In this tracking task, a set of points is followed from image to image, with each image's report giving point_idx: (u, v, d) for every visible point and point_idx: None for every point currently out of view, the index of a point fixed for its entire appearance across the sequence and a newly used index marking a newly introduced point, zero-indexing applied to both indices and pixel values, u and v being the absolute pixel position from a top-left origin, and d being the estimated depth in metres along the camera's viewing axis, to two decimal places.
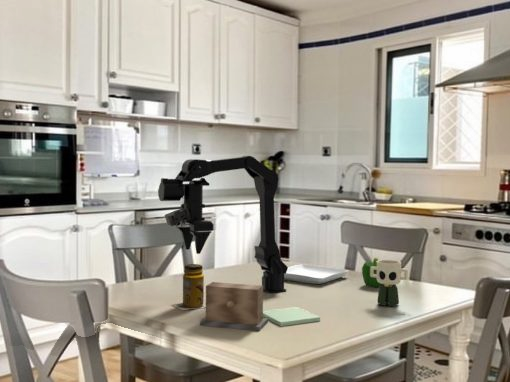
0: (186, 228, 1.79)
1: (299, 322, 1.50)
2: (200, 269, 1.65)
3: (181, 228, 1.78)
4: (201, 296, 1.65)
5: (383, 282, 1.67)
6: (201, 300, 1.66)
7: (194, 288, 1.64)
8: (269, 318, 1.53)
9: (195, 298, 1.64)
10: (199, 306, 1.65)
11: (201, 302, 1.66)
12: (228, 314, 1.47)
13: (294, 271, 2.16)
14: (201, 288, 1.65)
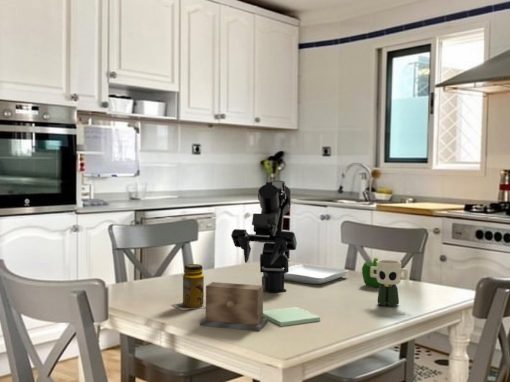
0: (248, 243, 1.68)
1: (299, 322, 1.50)
2: (200, 269, 1.65)
3: (247, 239, 1.67)
4: (201, 296, 1.65)
5: (383, 282, 1.67)
6: (201, 300, 1.66)
7: (194, 288, 1.64)
8: (269, 318, 1.53)
9: (195, 298, 1.64)
10: (199, 306, 1.65)
11: (201, 302, 1.66)
12: (228, 314, 1.47)
13: (294, 271, 2.16)
14: (201, 288, 1.65)
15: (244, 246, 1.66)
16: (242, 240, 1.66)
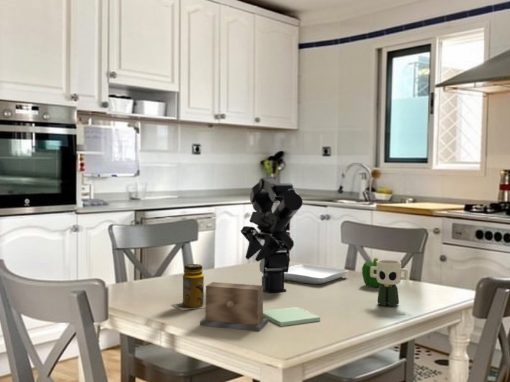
0: (257, 240, 1.73)
1: (299, 322, 1.50)
2: (200, 269, 1.65)
3: (254, 237, 1.72)
4: (201, 296, 1.65)
5: (383, 282, 1.67)
6: (201, 300, 1.66)
7: (194, 288, 1.64)
8: (269, 318, 1.53)
9: (195, 298, 1.64)
10: (199, 306, 1.65)
11: (201, 302, 1.66)
12: (228, 314, 1.47)
13: (294, 271, 2.16)
14: (201, 288, 1.65)
15: (250, 243, 1.72)
16: (249, 237, 1.72)
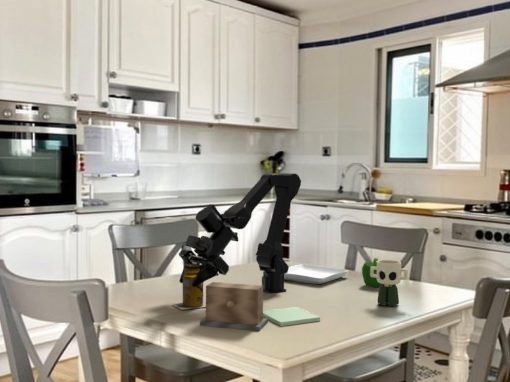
0: None
1: (299, 322, 1.50)
2: (200, 268, 1.65)
3: (189, 260, 1.70)
4: (201, 295, 1.65)
5: (383, 282, 1.67)
6: (201, 299, 1.66)
7: (194, 288, 1.64)
8: (269, 318, 1.53)
9: (195, 298, 1.64)
10: (199, 305, 1.65)
11: (201, 301, 1.66)
12: (228, 314, 1.47)
13: (294, 271, 2.16)
14: (201, 287, 1.65)
15: None
16: (184, 261, 1.71)
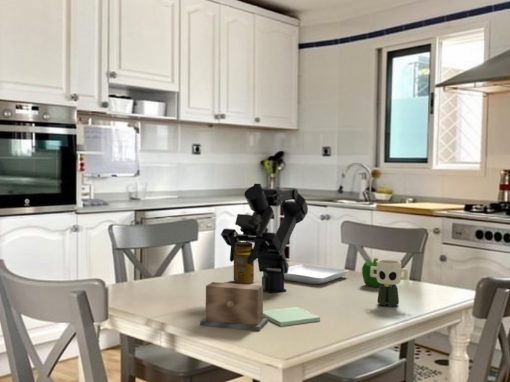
0: None
1: (299, 322, 1.50)
2: (251, 246, 1.69)
3: (235, 239, 1.73)
4: (253, 272, 1.70)
5: (383, 282, 1.67)
6: (253, 276, 1.70)
7: (248, 265, 1.68)
8: (269, 318, 1.53)
9: (249, 275, 1.68)
10: (252, 282, 1.69)
11: (253, 278, 1.70)
12: (228, 314, 1.47)
13: (294, 271, 2.16)
14: (253, 264, 1.69)
15: (232, 245, 1.72)
16: (230, 239, 1.73)
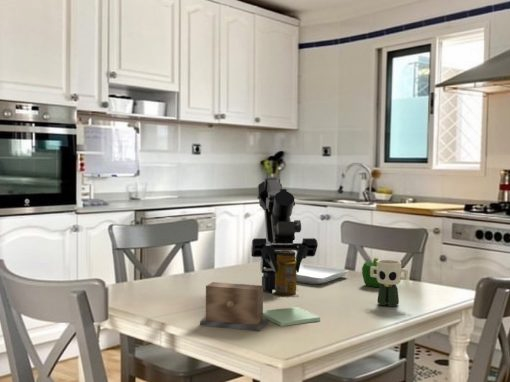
0: None
1: (299, 322, 1.50)
2: None
3: None
4: None
5: (383, 282, 1.67)
6: None
7: (295, 274, 1.61)
8: (269, 318, 1.53)
9: None
10: None
11: None
12: (228, 314, 1.47)
13: None
14: None
15: (271, 255, 1.61)
16: (268, 249, 1.61)
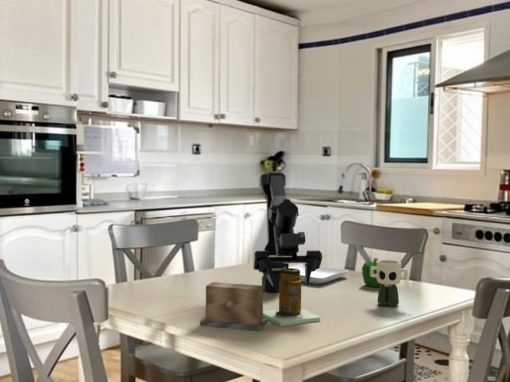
0: None
1: (299, 322, 1.50)
2: None
3: None
4: None
5: (383, 282, 1.67)
6: None
7: (300, 293, 1.55)
8: (269, 318, 1.53)
9: (300, 303, 1.55)
10: (300, 311, 1.57)
11: None
12: (228, 314, 1.47)
13: None
14: None
15: (268, 269, 1.55)
16: (265, 262, 1.55)
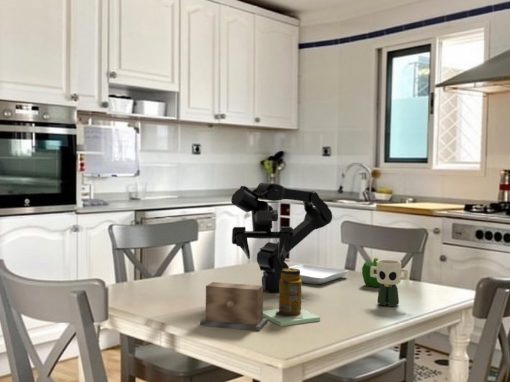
0: None
1: (299, 322, 1.50)
2: None
3: (246, 236, 1.74)
4: None
5: (383, 282, 1.67)
6: None
7: (300, 293, 1.55)
8: (269, 318, 1.53)
9: (300, 303, 1.55)
10: (300, 311, 1.57)
11: None
12: (228, 314, 1.47)
13: None
14: None
15: (245, 243, 1.72)
16: (242, 237, 1.73)
